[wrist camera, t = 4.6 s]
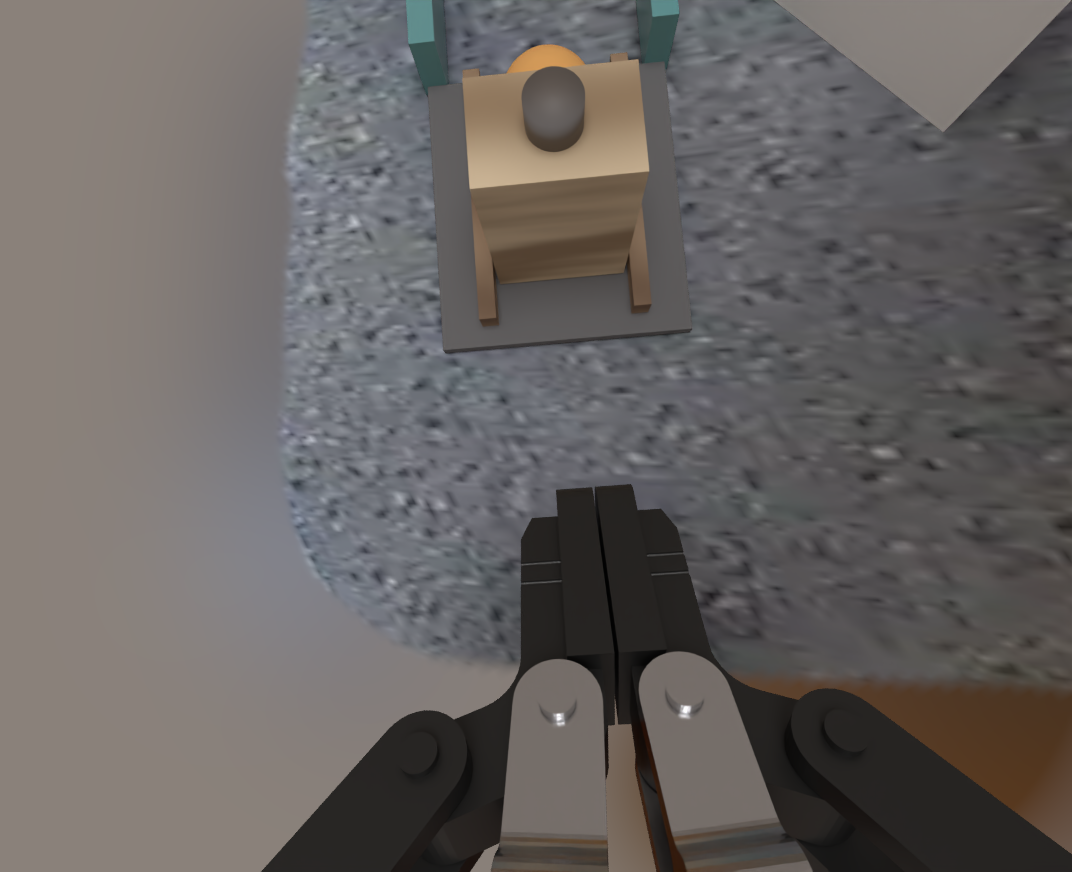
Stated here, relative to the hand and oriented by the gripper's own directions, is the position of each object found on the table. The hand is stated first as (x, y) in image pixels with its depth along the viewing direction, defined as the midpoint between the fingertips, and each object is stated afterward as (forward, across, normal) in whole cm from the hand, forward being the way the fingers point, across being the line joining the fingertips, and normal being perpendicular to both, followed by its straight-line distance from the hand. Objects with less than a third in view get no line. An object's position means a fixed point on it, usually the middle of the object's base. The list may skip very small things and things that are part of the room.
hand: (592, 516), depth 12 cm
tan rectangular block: (+20, 0, +2) cm, 20 cm away
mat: (+22, 0, +1) cm, 22 cm away
